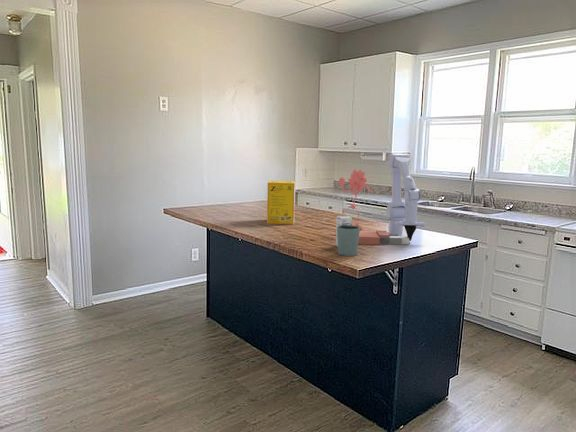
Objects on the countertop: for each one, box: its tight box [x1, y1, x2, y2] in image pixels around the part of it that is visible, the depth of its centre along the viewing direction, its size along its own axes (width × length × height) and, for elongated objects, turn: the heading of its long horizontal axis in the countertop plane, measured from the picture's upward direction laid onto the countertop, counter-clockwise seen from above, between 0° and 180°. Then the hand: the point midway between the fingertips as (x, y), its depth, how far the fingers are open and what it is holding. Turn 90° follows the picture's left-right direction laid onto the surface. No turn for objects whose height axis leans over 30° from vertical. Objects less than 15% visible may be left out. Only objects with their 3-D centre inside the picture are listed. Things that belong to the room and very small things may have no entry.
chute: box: [390, 235, 410, 245], centre depth 221 cm, size 5×10×3 cm, turn 88°
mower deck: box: [358, 229, 403, 246], centre depth 224 cm, size 16×21×4 cm
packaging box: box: [266, 180, 296, 225], centre depth 275 cm, size 16×16×25 cm
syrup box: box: [335, 215, 353, 247], centre depth 209 cm, size 6×6×14 cm
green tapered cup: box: [337, 225, 361, 257], centre depth 195 cm, size 10×10×12 cm
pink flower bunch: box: [338, 169, 374, 231], centre depth 244 cm, size 15×26×35 cm, turn 38°
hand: (409, 240), depth 223 cm, fingers closed
